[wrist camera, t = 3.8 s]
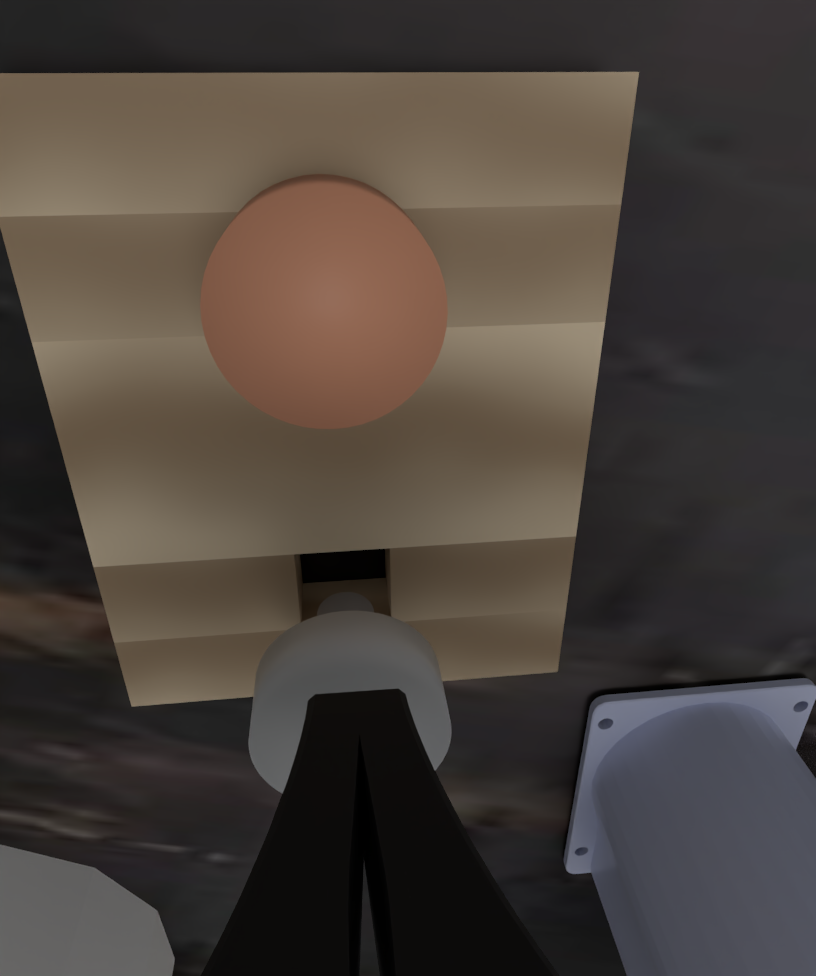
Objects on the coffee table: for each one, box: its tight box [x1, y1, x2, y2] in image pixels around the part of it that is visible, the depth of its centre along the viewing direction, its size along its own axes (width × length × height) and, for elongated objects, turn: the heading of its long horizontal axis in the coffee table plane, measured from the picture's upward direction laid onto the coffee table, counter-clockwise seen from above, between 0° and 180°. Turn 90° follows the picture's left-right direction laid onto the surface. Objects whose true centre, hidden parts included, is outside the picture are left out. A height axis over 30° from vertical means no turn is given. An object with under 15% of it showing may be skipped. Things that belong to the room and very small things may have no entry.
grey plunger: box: [248, 592, 451, 794], centre depth 16 cm, size 4×4×4 cm
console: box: [0, 72, 639, 707], centre depth 17 cm, size 15×12×2 cm
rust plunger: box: [200, 174, 448, 429], centre depth 13 cm, size 4×4×4 cm
